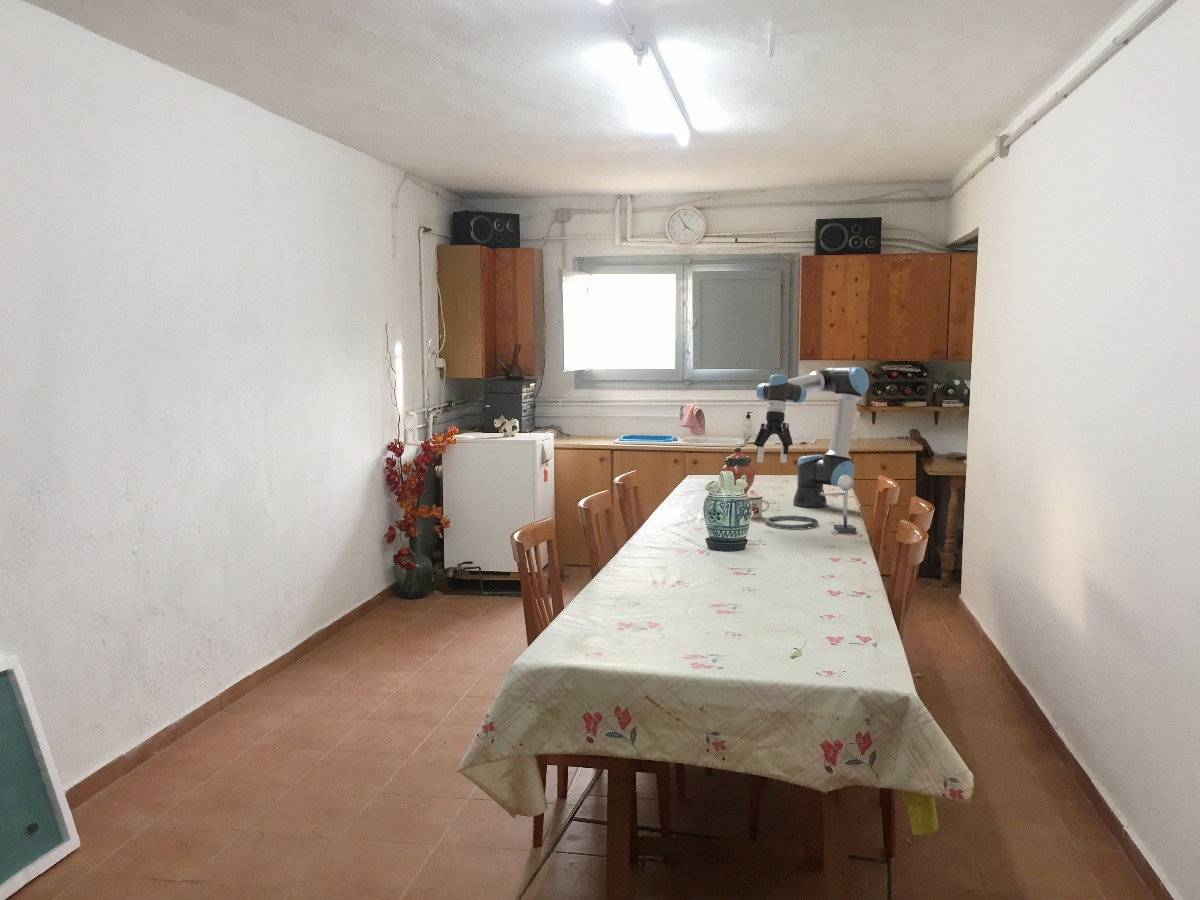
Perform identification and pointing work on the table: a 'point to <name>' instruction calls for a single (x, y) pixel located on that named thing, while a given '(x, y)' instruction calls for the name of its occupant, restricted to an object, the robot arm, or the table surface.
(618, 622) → the table surface
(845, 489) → the dial gauge stand
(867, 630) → the table surface
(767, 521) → the centring ring
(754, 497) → the teacup with lid
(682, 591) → the table surface
